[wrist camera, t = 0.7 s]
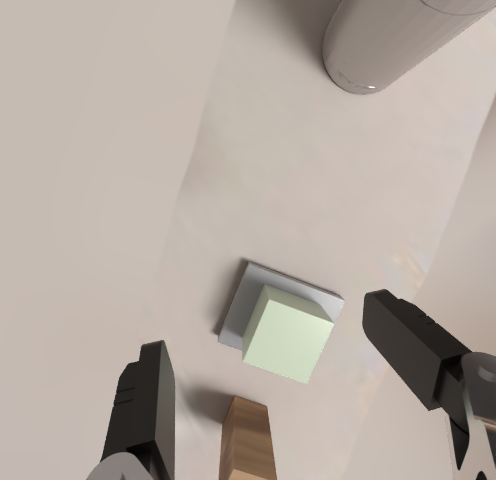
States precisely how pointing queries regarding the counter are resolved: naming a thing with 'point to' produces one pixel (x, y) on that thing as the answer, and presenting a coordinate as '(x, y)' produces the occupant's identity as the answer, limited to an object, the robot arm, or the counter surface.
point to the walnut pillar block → (246, 443)
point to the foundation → (279, 322)
